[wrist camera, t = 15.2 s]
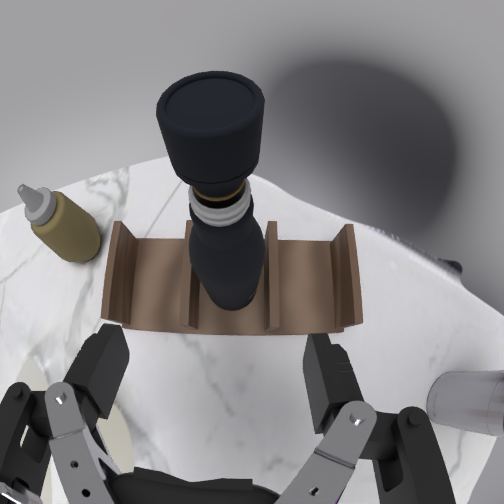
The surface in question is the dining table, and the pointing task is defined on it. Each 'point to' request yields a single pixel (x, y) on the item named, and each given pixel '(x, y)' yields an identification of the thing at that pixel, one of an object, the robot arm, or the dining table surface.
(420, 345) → the dining table surface
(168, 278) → the slot rack
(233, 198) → the black bottle
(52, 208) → the squeeze bottle
